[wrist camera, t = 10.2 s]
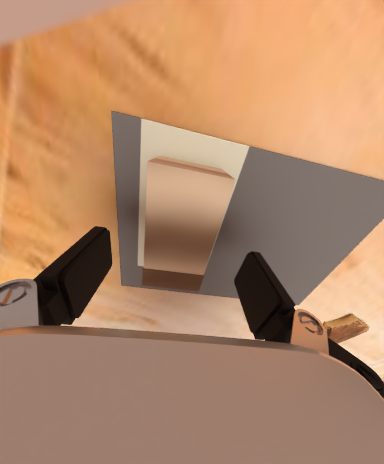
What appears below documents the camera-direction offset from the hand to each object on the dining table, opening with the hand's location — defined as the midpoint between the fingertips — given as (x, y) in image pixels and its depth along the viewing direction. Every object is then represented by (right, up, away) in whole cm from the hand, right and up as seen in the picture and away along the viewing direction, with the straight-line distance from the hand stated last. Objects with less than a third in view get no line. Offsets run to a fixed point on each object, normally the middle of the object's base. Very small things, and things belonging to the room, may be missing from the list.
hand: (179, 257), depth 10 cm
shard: (+29, -17, +19) cm, 39 cm away
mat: (+6, +1, +7) cm, 9 cm away
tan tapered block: (0, +3, +4) cm, 5 cm away
